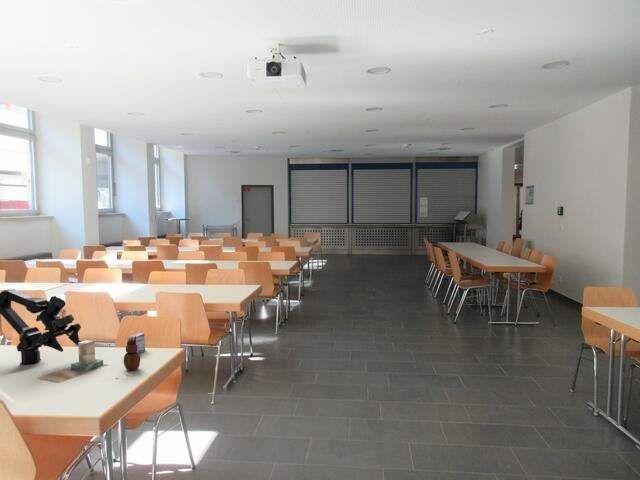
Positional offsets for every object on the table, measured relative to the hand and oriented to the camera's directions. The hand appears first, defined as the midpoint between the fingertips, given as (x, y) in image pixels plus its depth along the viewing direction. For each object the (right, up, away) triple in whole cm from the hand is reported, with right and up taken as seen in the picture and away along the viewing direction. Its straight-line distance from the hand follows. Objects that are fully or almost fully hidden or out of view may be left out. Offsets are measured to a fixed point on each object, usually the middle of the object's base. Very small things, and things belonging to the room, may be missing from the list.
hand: (71, 348), depth 207 cm
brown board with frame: (+5, -9, -8) cm, 13 cm away
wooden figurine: (+29, -9, -4) cm, 30 cm away
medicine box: (+21, -7, +21) cm, 31 cm away
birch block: (+8, -8, -2) cm, 11 cm away
